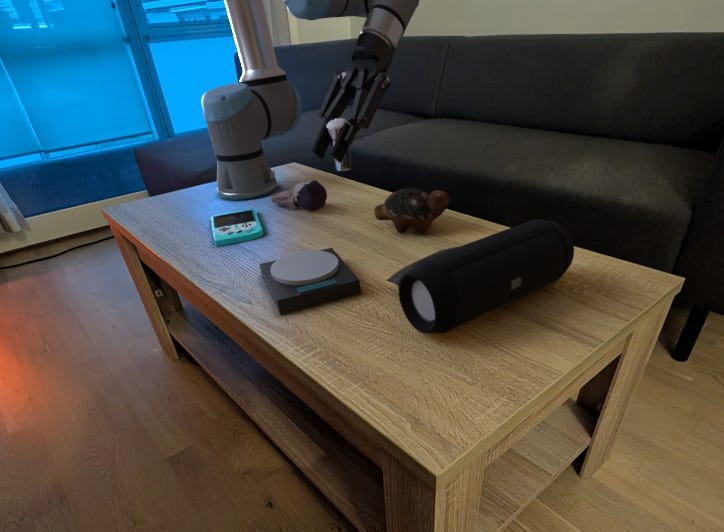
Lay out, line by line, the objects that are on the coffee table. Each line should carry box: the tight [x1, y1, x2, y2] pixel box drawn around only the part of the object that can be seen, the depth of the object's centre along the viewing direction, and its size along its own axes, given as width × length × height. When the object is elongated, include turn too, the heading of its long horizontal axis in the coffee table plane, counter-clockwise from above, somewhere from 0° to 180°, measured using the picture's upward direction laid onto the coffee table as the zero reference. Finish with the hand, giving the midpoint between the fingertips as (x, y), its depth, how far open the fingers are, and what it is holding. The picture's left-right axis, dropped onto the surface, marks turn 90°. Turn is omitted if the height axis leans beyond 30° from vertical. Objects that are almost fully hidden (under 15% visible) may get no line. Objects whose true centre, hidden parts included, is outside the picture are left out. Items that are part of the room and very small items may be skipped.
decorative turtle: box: [373, 187, 450, 236], centre depth 88 cm, size 10×15×8 cm, turn 76°
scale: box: [258, 247, 362, 316], centre depth 73 cm, size 14×13×3 cm
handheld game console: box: [210, 208, 264, 247], centre depth 96 cm, size 10×16×1 cm, turn 20°
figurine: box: [270, 179, 328, 212], centre depth 102 cm, size 10×6×15 cm
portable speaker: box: [398, 218, 575, 335], centre depth 62 cm, size 26×10×10 cm, turn 124°
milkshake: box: [321, 117, 353, 172], centre depth 88 cm, size 4×5×10 cm
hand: (326, 156), depth 87 cm, fingers closed on milkshake, 5 cm apart
